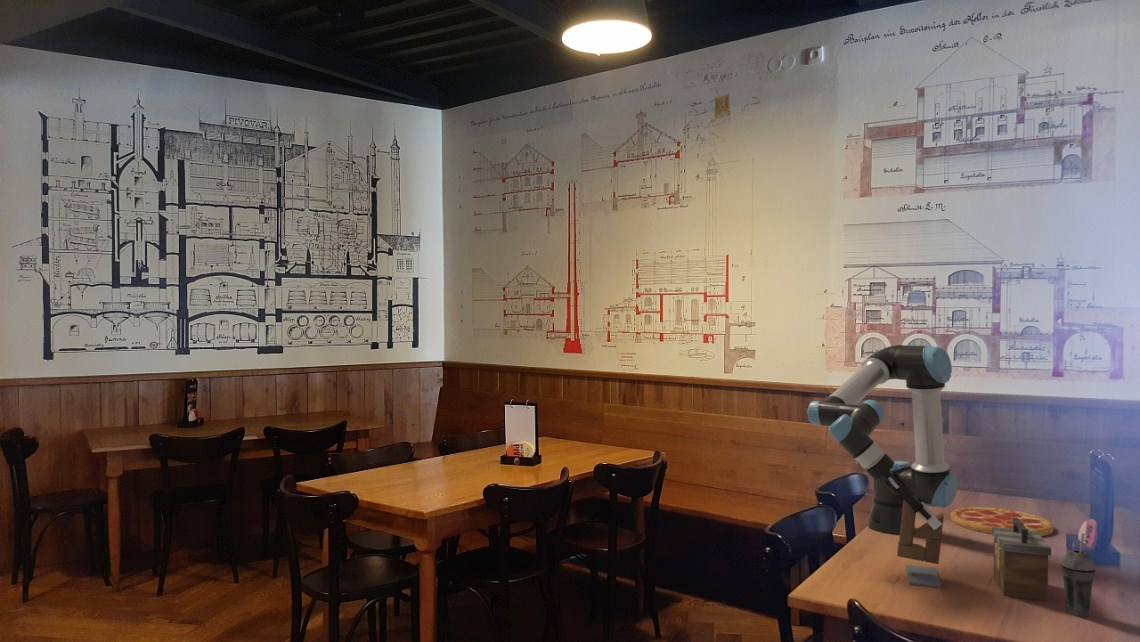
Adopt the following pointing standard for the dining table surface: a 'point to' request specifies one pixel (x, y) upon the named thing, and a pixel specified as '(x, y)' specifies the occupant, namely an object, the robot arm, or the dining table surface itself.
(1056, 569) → the dining table surface
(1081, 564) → the beverage cup
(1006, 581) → the toolbox
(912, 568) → the mat
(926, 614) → the dining table surface
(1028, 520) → the pizza
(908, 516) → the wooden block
